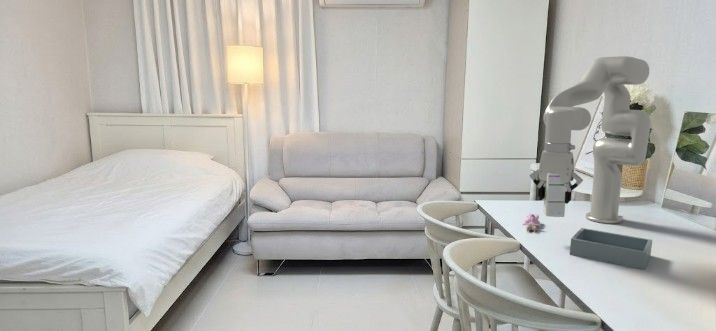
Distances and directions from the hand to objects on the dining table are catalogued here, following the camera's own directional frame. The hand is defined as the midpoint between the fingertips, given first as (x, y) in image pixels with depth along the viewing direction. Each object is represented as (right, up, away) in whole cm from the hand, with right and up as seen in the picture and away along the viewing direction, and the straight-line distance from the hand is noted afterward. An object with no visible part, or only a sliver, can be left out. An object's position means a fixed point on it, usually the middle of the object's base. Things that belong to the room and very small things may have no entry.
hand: (554, 200), depth 153 cm
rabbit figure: (0, -11, +18) cm, 22 cm away
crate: (+13, -16, -10) cm, 23 cm away
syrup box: (0, -5, +1) cm, 5 cm away
